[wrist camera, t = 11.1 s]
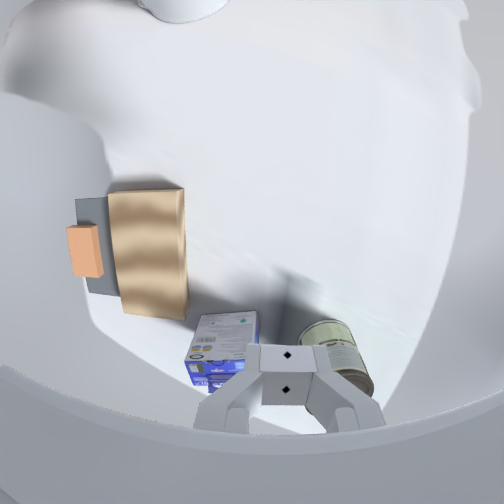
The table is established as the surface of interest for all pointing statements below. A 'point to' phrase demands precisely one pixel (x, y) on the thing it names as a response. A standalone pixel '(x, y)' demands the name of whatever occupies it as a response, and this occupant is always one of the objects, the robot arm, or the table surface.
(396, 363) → the table surface
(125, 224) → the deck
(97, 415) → the robot arm
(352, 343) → the coffee can
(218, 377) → the ink cartridge box
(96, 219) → the mat
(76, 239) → the block
